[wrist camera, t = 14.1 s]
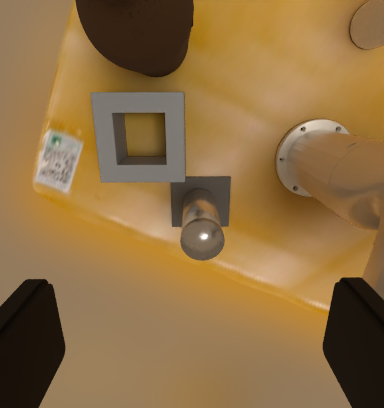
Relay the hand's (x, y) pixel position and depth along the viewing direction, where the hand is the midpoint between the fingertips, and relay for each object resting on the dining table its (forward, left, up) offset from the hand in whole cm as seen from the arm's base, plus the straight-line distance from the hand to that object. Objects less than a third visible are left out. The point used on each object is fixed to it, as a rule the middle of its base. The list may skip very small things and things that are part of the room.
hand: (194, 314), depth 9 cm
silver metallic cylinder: (-1, +10, -38) cm, 39 cm away
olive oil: (+5, -15, -38) cm, 42 cm away
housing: (+7, -2, -38) cm, 39 cm away
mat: (-2, +10, -38) cm, 39 cm away
